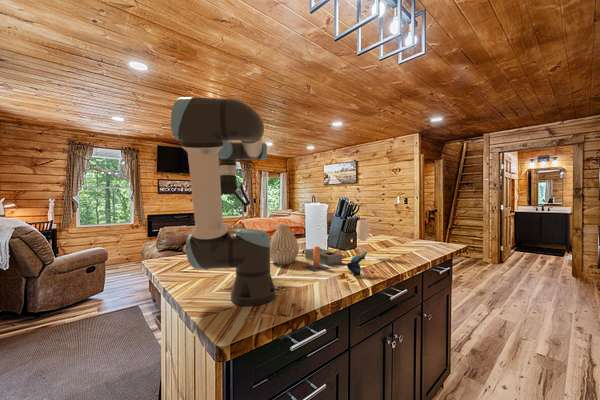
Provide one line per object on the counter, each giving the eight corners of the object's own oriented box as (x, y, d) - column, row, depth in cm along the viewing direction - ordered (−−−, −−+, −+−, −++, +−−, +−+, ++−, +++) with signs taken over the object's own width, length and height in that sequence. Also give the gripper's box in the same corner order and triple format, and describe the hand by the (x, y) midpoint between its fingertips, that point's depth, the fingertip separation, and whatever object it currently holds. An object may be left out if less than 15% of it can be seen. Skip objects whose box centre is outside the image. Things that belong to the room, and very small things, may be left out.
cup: (354, 256, 149) (354, 220, 149) (364, 255, 151) (364, 219, 151) (361, 258, 142) (361, 221, 142) (372, 257, 145) (372, 220, 144)
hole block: (342, 264, 131) (342, 254, 131) (328, 266, 127) (328, 256, 126) (318, 256, 148) (318, 247, 148) (305, 258, 143) (305, 249, 143)
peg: (320, 267, 123) (320, 247, 123) (315, 268, 122) (315, 247, 122) (317, 266, 126) (317, 246, 126) (312, 267, 124) (312, 246, 124)
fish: (370, 274, 114) (369, 252, 113) (350, 277, 110) (350, 254, 110) (364, 272, 118) (364, 250, 117) (344, 274, 114) (344, 252, 114)
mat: (331, 269, 122) (331, 268, 122) (314, 272, 117) (314, 271, 117) (318, 264, 131) (318, 263, 131) (302, 267, 125) (302, 266, 125)
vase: (280, 269, 123) (280, 227, 123) (262, 262, 135) (261, 224, 135) (305, 263, 134) (304, 224, 134) (285, 257, 146) (285, 222, 146)
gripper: (255, 175, 128) (255, 218, 128) (203, 175, 125) (203, 219, 125) (254, 174, 121) (254, 219, 121) (198, 174, 117) (199, 220, 118)
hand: (228, 219), depth 123 cm, fingers open, 13 cm apart
